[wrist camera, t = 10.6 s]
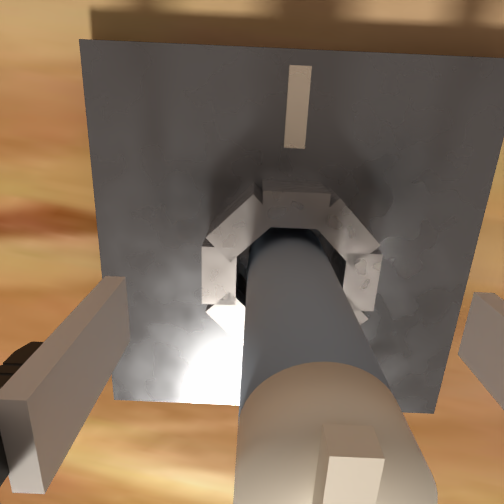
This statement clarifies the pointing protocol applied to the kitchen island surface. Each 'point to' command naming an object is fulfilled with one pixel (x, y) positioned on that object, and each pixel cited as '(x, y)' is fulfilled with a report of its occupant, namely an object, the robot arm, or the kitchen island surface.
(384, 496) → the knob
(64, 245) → the kitchen island surface
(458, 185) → the base plate
